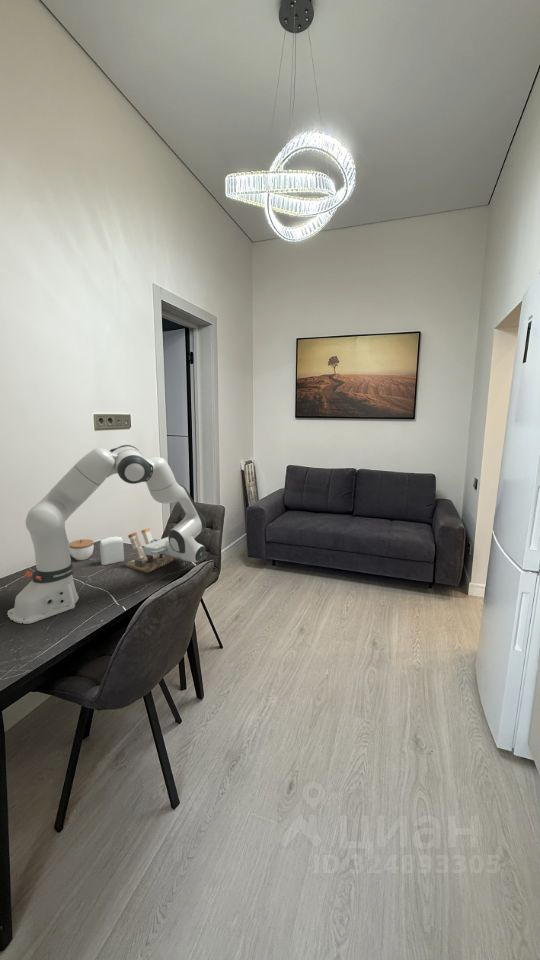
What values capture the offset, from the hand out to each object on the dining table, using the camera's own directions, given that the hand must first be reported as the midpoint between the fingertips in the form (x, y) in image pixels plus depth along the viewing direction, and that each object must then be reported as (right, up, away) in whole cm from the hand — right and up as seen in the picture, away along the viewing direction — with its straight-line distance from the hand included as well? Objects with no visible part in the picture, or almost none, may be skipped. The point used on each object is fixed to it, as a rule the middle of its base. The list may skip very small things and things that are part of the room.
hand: (152, 541), depth 179 cm
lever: (+1, -8, 0) cm, 8 cm away
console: (-1, -10, -1) cm, 10 cm away
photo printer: (-19, -10, 0) cm, 22 cm away
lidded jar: (-36, -9, +5) cm, 37 cm away
